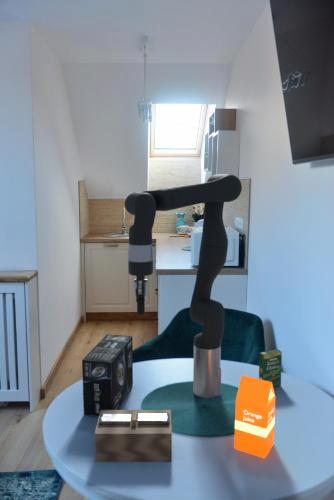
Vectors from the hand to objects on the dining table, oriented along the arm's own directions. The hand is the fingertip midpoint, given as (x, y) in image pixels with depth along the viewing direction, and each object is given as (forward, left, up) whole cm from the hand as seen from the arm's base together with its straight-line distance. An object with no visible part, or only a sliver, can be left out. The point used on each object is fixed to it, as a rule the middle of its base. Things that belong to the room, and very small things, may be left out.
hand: (141, 313), depth 137 cm
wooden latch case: (+1, +21, -32) cm, 38 cm away
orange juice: (-32, +20, -32) cm, 50 cm away
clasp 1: (+6, +20, -24) cm, 32 cm away
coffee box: (-45, -16, -32) cm, 58 cm away
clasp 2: (-4, +20, -24) cm, 32 cm away
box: (+11, -7, -32) cm, 35 cm away
